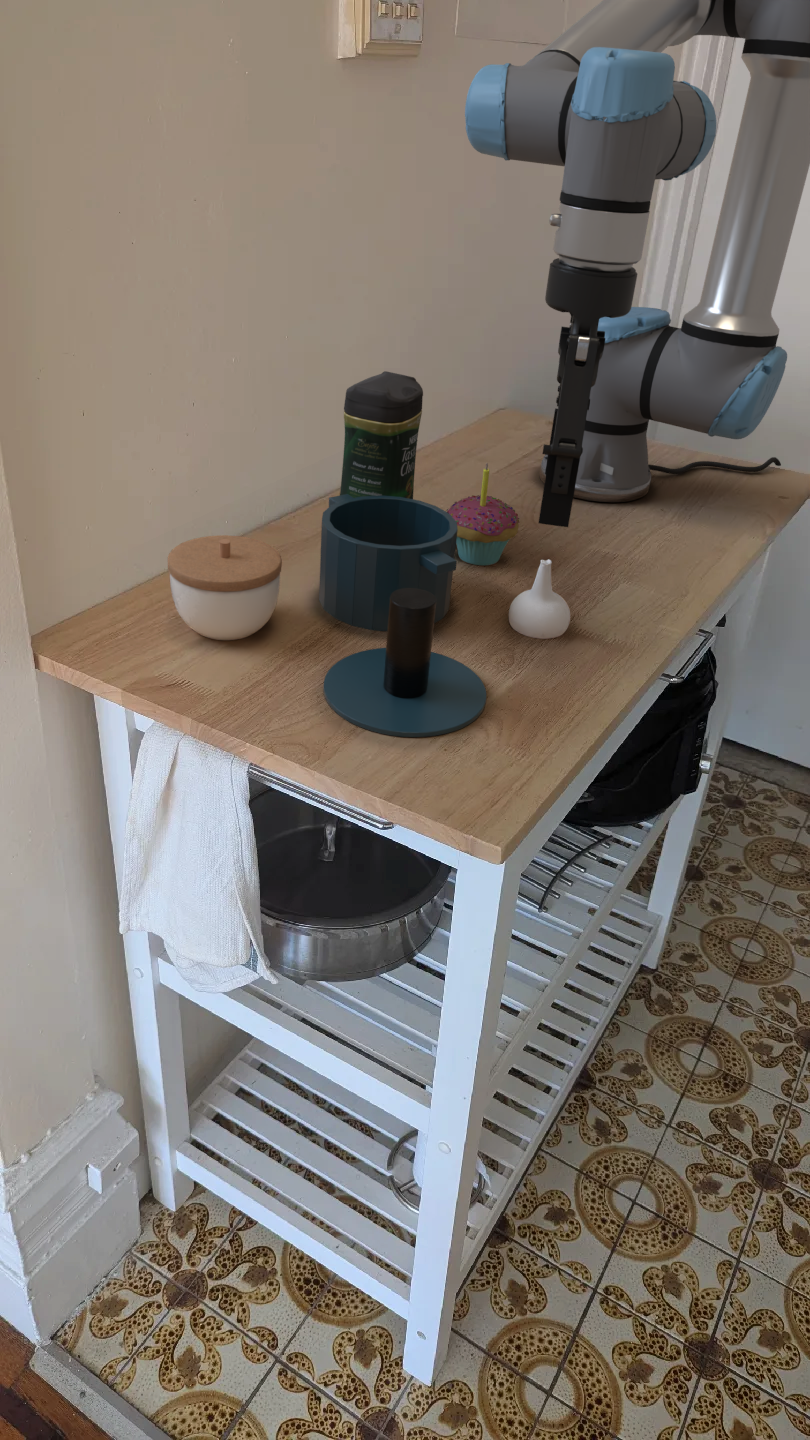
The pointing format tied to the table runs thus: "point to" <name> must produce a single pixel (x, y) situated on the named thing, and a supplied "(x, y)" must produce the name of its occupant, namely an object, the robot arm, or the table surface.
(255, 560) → the trinket box
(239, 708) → the table surface
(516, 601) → the garlic bulb
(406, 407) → the coffee jar
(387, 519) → the pot
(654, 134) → the robot arm
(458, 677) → the lid
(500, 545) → the cupcake
